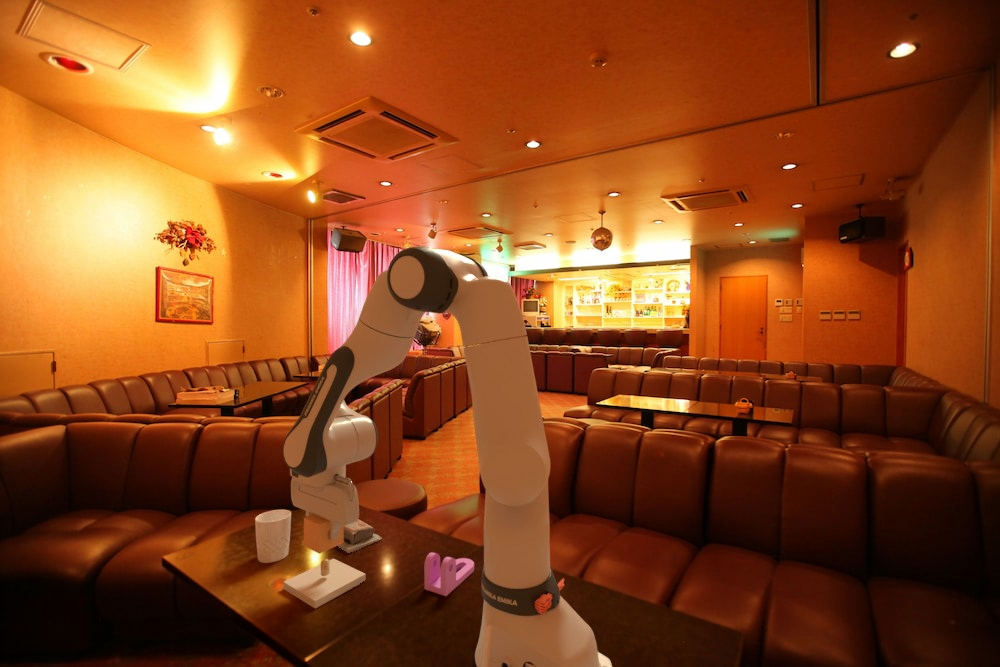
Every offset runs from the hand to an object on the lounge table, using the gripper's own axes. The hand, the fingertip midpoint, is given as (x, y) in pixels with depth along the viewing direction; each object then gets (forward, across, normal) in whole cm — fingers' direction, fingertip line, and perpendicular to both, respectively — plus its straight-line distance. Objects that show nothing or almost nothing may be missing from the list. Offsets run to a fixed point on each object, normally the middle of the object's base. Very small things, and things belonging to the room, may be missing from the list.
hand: (323, 534), depth 94 cm
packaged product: (+12, +16, -17) cm, 26 cm away
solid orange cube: (+2, 0, 0) cm, 2 cm away
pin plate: (+11, 0, 0) cm, 11 cm away
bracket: (+11, -21, -18) cm, 30 cm away
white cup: (+11, +22, 0) cm, 25 cm away
